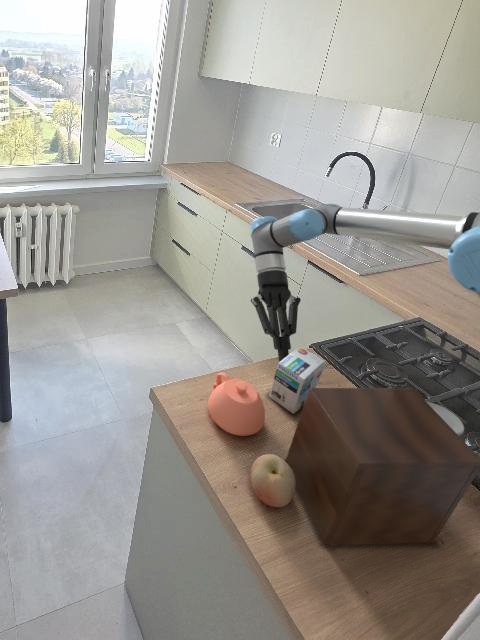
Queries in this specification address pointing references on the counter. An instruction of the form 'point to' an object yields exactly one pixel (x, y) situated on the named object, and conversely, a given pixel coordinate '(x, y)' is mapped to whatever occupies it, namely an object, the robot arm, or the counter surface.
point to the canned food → (449, 418)
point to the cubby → (378, 466)
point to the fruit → (272, 480)
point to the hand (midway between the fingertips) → (284, 363)
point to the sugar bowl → (236, 406)
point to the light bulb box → (296, 378)
